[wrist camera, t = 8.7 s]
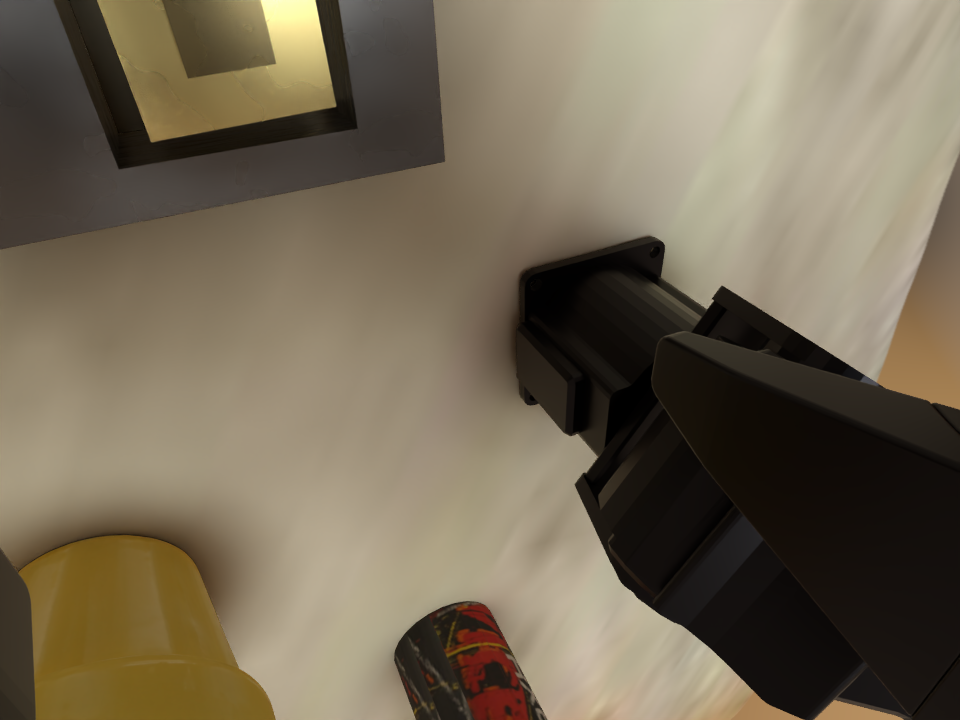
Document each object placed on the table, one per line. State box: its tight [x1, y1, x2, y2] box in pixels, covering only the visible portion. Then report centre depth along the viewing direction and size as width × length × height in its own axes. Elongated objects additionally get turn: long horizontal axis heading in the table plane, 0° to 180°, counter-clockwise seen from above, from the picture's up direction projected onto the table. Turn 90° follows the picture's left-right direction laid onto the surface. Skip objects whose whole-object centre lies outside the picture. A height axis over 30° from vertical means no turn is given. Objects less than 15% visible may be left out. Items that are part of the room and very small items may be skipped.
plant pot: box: [18, 535, 276, 720], centre depth 20 cm, size 10×10×10 cm
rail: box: [0, 0, 445, 249], centre depth 13 cm, size 18×8×3 cm, turn 92°
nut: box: [97, 0, 336, 142], centre depth 14 cm, size 4×4×4 cm
